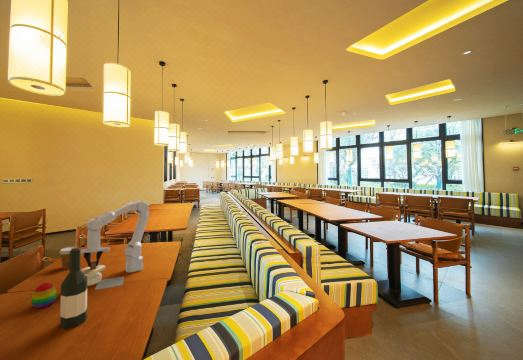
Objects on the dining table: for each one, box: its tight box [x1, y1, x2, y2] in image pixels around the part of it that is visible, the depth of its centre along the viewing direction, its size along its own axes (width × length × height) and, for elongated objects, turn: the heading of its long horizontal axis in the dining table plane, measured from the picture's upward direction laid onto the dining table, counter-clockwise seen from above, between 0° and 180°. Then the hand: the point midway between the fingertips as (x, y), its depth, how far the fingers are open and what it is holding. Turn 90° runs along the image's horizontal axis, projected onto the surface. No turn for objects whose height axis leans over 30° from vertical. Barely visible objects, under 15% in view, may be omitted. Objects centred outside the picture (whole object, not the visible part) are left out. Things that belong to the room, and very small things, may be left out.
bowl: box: [85, 272, 103, 287], centre depth 122 cm, size 10×10×4 cm
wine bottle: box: [59, 246, 88, 330], centre depth 89 cm, size 8×8×30 cm
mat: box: [94, 275, 125, 291], centre depth 121 cm, size 12×12×1 cm
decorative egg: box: [31, 282, 58, 309], centre depth 101 cm, size 8×8×10 cm
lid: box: [80, 260, 106, 274], centre depth 121 cm, size 11×11×4 cm
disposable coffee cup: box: [58, 246, 76, 270], centre depth 142 cm, size 10×10×12 cm
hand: (93, 265), depth 121 cm, fingers closed on lid, 3 cm apart
